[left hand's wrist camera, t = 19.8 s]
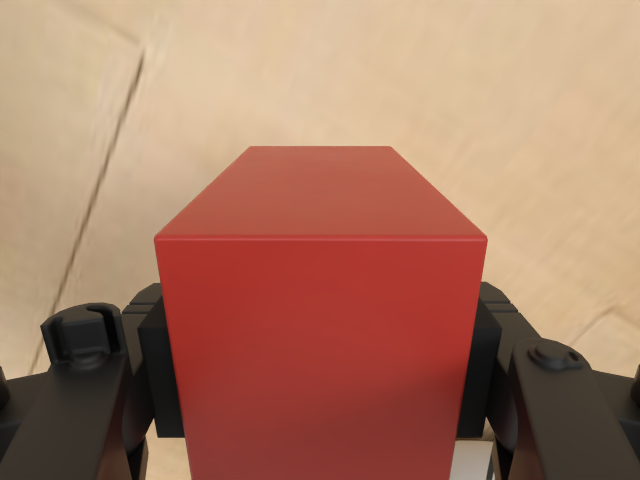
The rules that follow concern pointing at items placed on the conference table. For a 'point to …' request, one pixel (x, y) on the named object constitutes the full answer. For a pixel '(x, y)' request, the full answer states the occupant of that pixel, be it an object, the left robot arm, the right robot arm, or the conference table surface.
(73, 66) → the conference table surface
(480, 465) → the projector
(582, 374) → the left robot arm
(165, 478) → the conference table surface
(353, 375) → the brick
